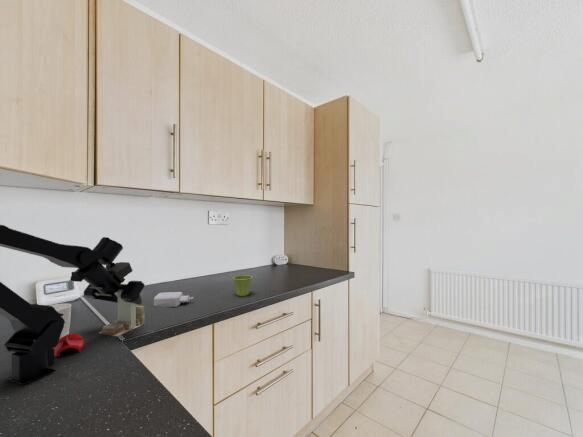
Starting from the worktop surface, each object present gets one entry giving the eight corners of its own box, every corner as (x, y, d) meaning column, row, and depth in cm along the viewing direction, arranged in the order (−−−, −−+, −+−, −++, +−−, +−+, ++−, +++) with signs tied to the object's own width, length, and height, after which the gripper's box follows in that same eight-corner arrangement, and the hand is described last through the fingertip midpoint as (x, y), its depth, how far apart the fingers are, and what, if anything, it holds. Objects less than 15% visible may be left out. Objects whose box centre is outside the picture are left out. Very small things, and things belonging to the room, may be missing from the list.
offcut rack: (116, 340, 80) (116, 316, 81) (97, 336, 83) (97, 313, 83) (144, 327, 90) (144, 306, 90) (127, 324, 93) (127, 304, 93)
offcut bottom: (113, 335, 81) (113, 331, 81) (101, 333, 83) (101, 329, 83) (125, 330, 85) (125, 326, 85) (113, 328, 86) (113, 324, 86)
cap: (89, 344, 71) (89, 326, 75) (61, 344, 67) (63, 325, 71) (75, 365, 72) (76, 346, 76) (47, 366, 68) (50, 347, 72)
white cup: (34, 348, 75) (34, 313, 75) (39, 338, 82) (39, 306, 82) (69, 341, 80) (70, 308, 80) (72, 332, 86) (72, 301, 86)
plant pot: (254, 296, 127) (254, 278, 127) (234, 298, 124) (234, 279, 124) (250, 291, 136) (250, 274, 136) (231, 293, 132) (231, 276, 132)
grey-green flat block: (131, 328, 86) (131, 285, 86) (117, 326, 88) (117, 284, 88) (135, 326, 88) (135, 284, 88) (122, 324, 90) (122, 283, 90)
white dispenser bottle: (191, 306, 112) (153, 309, 109) (195, 300, 121) (160, 302, 118) (191, 295, 112) (153, 297, 109) (195, 290, 121) (160, 292, 119)
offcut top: (113, 331, 81) (113, 327, 81) (103, 329, 83) (103, 326, 83) (123, 326, 85) (123, 323, 85) (113, 325, 86) (113, 322, 86)
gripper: (139, 256, 82) (164, 283, 93) (92, 254, 86) (121, 280, 97) (117, 287, 74) (147, 313, 85) (67, 284, 79) (101, 308, 89)
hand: (129, 302), depth 89 cm, fingers open, 9 cm apart
